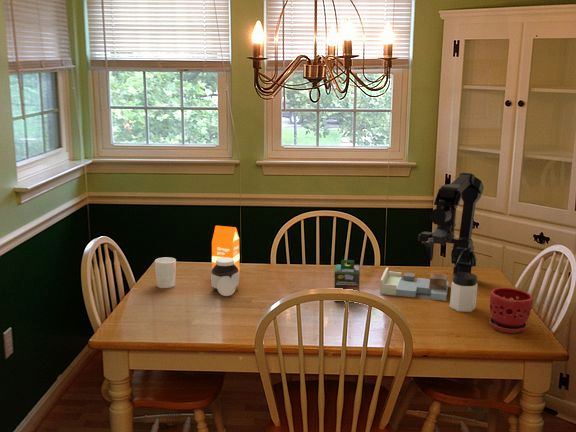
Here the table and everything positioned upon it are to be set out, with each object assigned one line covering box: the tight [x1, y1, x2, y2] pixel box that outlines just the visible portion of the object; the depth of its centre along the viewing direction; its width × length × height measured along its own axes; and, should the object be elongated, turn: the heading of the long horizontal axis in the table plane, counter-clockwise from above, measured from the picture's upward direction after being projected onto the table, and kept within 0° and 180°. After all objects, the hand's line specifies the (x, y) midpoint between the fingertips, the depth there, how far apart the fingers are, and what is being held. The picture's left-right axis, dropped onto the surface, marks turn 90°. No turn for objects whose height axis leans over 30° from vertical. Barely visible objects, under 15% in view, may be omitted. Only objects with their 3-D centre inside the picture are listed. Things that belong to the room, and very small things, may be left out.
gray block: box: [402, 272, 416, 282], centre depth 261 cm, size 4×4×4 cm
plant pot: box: [489, 287, 534, 334], centre depth 220 cm, size 13×13×12 cm
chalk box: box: [333, 259, 361, 303], centre depth 245 cm, size 9×9×15 cm
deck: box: [379, 266, 449, 302], centre depth 255 cm, size 24×16×6 cm, turn 74°
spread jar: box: [210, 257, 240, 297], centre depth 250 cm, size 12×11×12 cm
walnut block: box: [429, 272, 448, 290], centre depth 252 cm, size 6×6×4 cm
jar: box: [449, 272, 478, 313], centre depth 237 cm, size 9×8×12 cm
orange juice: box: [211, 225, 241, 271], centre depth 268 cm, size 8×9×20 cm
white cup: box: [154, 256, 177, 289], centre depth 255 cm, size 8×8×10 cm
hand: (443, 262), depth 247 cm, fingers open, 9 cm apart
